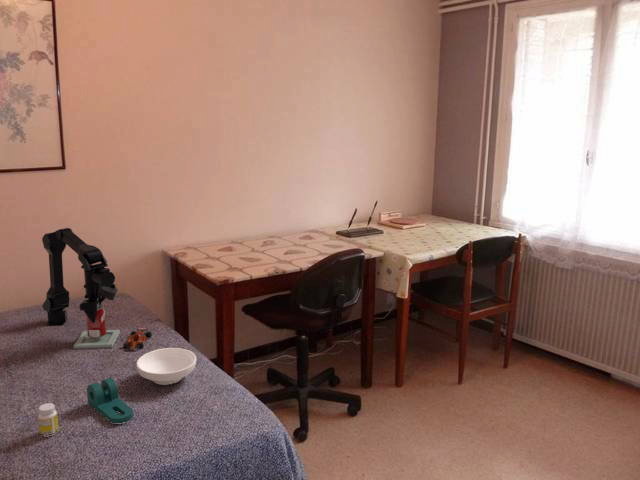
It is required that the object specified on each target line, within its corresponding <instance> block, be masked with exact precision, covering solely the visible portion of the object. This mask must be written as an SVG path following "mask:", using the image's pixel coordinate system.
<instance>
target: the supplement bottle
mask: <svg viewBox="0 0 640 480" xmlns="http://www.w3.org/2000/svg"><path fill="white" fill-rule="evenodd" d="M37 417H38V427H39V434H41V435H46V436H47V435H52V434H54V433H56V432H57V431H58V430H59V431H60V429H59V427H60V426H59V421H58V419H59V418H58V411H57V410H56V407H55V404H54V403H52V402H50V403H49V402H48V403H43V404H42V405H40V406H39V407H38V416H37ZM41 435H40V436H41Z"/></svg>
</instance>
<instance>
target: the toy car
mask: <svg viewBox="0 0 640 480" xmlns="http://www.w3.org/2000/svg"><path fill="white" fill-rule="evenodd" d="M136 330H137V331H131V332H130V336H129V338H127V341H126V342H124V343H123V352H129V353H130V352H132V353H134V352H139V350H138V349H135V348H136V347H139V349H144V344H145V342H146V341H148V339H150V338H152V337H153V335H152V333H153V332H151V331H149V328H148V327H141V326H139V327H137V329H136ZM144 331H146V332H145V333H144ZM127 347H129V348H128V349H127Z"/></svg>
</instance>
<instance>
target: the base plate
mask: <svg viewBox="0 0 640 480" xmlns="http://www.w3.org/2000/svg"><path fill="white" fill-rule="evenodd" d="M120 330H121V329H106V335H104V336H103V337H101V338H91V337H89V336H88V331H87V330H83V331H82V332H81V334H80V336H79V337H78V339H76V342H75V343H74V344H73V350H76V349H77V350H80V349H82V350H83V349H84V350H85V349H106V348H107V349H111V348H113V347H114V345H115V343H116V341H117V339H118V337H119V335H120V333H121V331H120Z"/></svg>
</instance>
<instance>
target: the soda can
mask: <svg viewBox="0 0 640 480" xmlns="http://www.w3.org/2000/svg"><path fill="white" fill-rule="evenodd" d="M99 306H100V307H99V309H98V310H96V319H95V323H92V322H91V321H90V319H89V318H88V316H87V315H86V314H85V316H86V327H87V328H86V331H88V336H89V337H91V338H101V337H103V336H104V335H106V330H107V324H106V310H105V309H104V306H103V304H102V305H99Z"/></svg>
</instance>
